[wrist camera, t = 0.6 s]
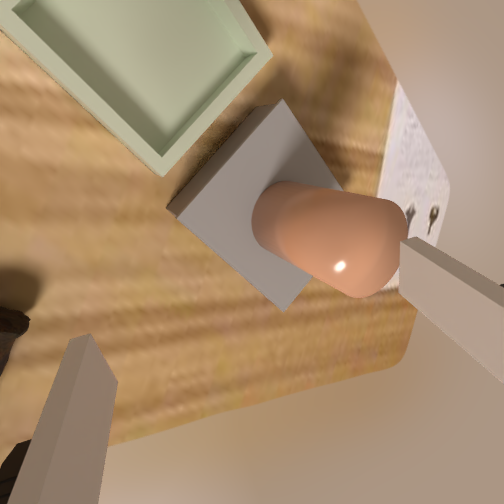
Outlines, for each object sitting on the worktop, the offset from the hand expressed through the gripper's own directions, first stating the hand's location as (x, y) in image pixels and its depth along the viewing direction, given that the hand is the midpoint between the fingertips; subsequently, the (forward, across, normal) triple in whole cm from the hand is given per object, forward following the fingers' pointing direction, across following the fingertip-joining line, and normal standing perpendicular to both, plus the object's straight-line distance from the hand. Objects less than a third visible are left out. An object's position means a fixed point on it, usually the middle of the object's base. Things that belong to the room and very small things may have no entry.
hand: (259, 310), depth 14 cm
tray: (+18, -2, +12) cm, 22 cm away
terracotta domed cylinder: (+15, +6, -3) cm, 16 cm away
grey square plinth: (+19, +4, -3) cm, 20 cm away
